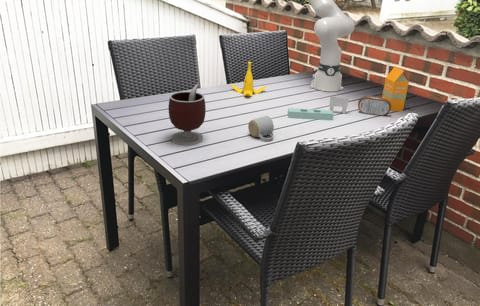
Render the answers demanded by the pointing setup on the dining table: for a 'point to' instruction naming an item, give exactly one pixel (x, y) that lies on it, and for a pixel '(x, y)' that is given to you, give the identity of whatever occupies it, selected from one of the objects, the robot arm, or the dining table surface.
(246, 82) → the banana peel
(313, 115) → the rail
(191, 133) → the mate gourd
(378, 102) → the tin
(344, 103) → the white block
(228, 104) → the dining table surface
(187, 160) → the dining table surface
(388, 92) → the orange juice
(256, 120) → the ceramic mug
